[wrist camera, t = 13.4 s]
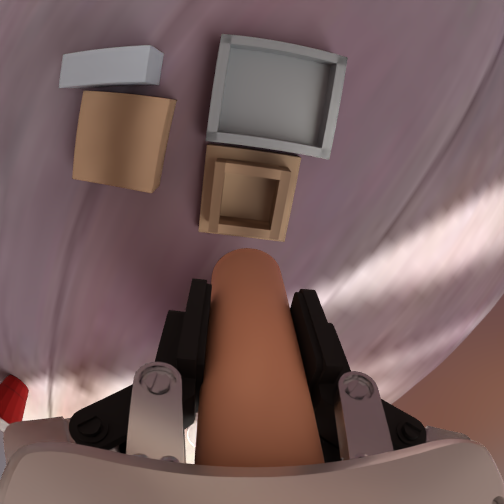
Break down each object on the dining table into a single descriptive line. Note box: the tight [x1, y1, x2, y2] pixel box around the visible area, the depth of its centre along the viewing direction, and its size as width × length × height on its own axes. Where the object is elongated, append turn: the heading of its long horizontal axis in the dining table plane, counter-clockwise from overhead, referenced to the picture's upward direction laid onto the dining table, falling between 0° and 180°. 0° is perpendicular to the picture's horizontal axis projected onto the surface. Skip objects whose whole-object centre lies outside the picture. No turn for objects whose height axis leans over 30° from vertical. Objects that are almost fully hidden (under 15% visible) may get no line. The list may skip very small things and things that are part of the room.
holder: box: [199, 144, 301, 242], centre depth 25 cm, size 8×8×3 cm
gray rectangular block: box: [59, 45, 164, 88], centre depth 19 cm, size 8×3×4 cm, turn 82°
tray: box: [206, 34, 347, 160], centre depth 21 cm, size 10×9×2 cm
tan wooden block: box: [72, 91, 177, 193], centre depth 22 cm, size 8×8×3 cm
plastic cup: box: [0, 375, 29, 432], centre depth 37 cm, size 11×11×12 cm
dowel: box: [195, 248, 325, 467], centre depth 9 cm, size 3×3×10 cm
